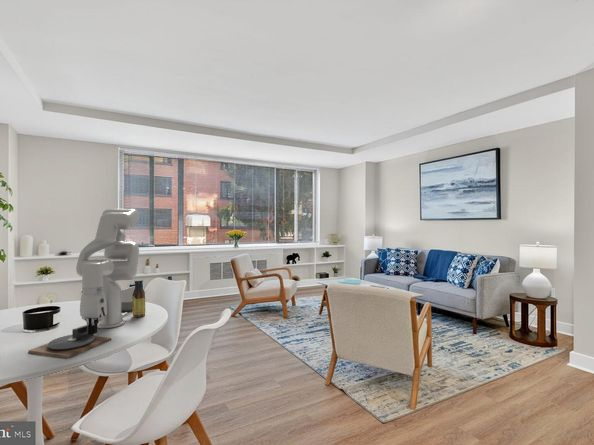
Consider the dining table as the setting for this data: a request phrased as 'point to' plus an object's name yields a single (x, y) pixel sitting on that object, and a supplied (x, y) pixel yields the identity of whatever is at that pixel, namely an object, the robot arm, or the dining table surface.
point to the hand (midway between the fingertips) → (92, 333)
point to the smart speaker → (127, 299)
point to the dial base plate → (68, 353)
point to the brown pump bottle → (138, 299)
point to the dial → (72, 340)
